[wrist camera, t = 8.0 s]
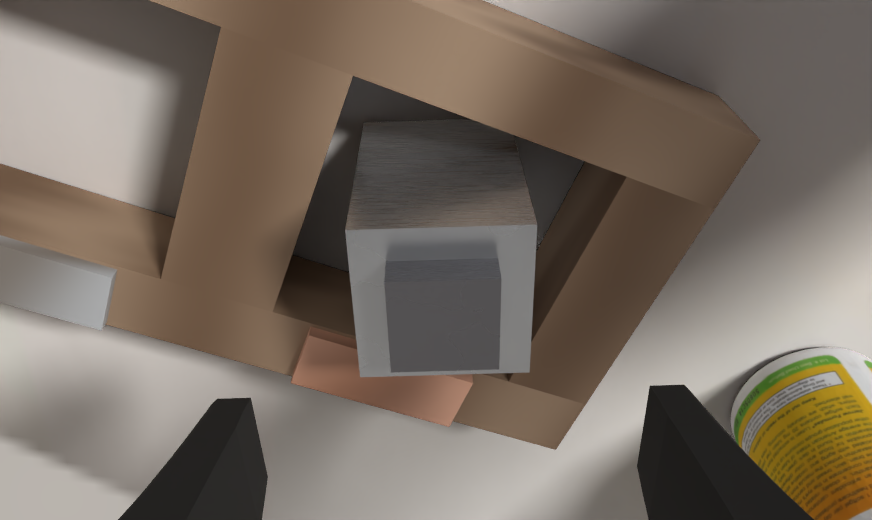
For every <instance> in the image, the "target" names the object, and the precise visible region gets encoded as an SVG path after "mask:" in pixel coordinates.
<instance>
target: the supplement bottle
mask: <svg viewBox="0 0 872 520" xmlns="http://www.w3.org/2000/svg"><path fill="white" fill-rule="evenodd" d="M731 428H732V432H733V435H734V438H735V440H736V442H737V444H738V445H739V446H740V447H741V448H742V449H743V450H744V451H745V453H746V454H747V455H748V456H749V457H750V458H751V459H752V460H753V461H754V462H755V463H756V464H757V465H758V466H759V467H760V468H761V469H762V470H763V471H764V472H765V473H766V474H767V475H768V476H769V477H770V478H771V479H772V480H773V481H774V482H775V483H776V484H777V485H778V486H779V487H780V488H781V489H782V490H783V491H784V492H785V493H786V494H787V495H788V496H789V497H790V498H791V499H793V500H794V501H795V502H796V503H797V504H798V505H799V506H800V507H801V508H802V509H803V510H804V511H805V512H806V513H808V514H809V515H810V516H811V517H812V518H813V519H814V520H872V359H870V358H868V357H867V356H865V355H863V354H861V353H859V352H856V351H853V350H850V349H845V348H838V347H820V348H812V349H806V350H802V351H798V352H795V353H791V354H788V355H786V356H783V357H781V358H779V359H777V360H775V361H773V362H771V363H769V364H768V365H766V366H764V367H763V368H761V369H760V370H759V371H757V372H756V373H755V374H754V375H753V376H752V377H751V378H750V379H749V380H748V381H747V382H746V383H745V384H744V386H743V387H742V389H741V390H740V392H739V393H738V395H737V397H736V399H735V401H734V404H733V407H732V411H731Z"/></svg>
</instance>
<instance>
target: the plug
mask: <svg viewBox="0 0 872 520" xmlns="http://www.w3.org/2000/svg"><path fill="white" fill-rule="evenodd" d="M345 234H346V244H347V254H348V264H349V274H350V283H351V293H352V303H353V313H354V322H355V332H356V342H357V352H358V361H359V371H360V377H389V376H423V375H458V374H492V373H527V372H530V354H531V336H532V317H533V298H534V279H535V260H536V241H537V221H536V217H535V214H534V210H533V206H532V202H531V198H530V195H529V191H528V187H527V183H526V179H525V176H524V172H523V168H522V164H521V160H520V157H519V153H518V149H517V145H516V141H515V138H514V135H512V134H510V133H507V132H504V131H502V130H499V129H496V128H493V127H491V126H488V125H485V124H483V123H480V122H477V121H474V120H472V119H458V120H423V121H389V122H364V126H363V131H362V137H361V143H360V148H359V154H358V160H357V165H356V171H355V177H354V182H353V188H352V194H351V199H350V205H349V211H348V216H347V222H346V228H345Z"/></svg>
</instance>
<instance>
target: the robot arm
mask: <svg viewBox="0 0 872 520" xmlns="http://www.w3.org/2000/svg"><path fill="white" fill-rule="evenodd" d="M637 468H638V472H639V477H640V482H641V487H642V492H643V496H644V501H645V505H646V509H647V514H648V518H649V520H814V519H813V518H812V517H811V516H810V515H809V514H808V513H806V512H805V511H804V510H803V509H802V508H801V507H800V506H799V505H798V504H797V503H796V502H795V501H794V500H793V499H791V498H790V497H789V496H788V495H787V494H786V493H785V492H784V491H783V490H782V489H781V488H780V487H779V486H778V485H777V484H776V483H775V482H774V481H773V480H772V479H771V478H770V477H769V476H768V475H767V474H766V473H765V472H764V471H763V470H762V469H761V468H760V467H759V466H758V465H757V464H756V463H755V462H754V461H753V460H752V459H751V458H750V457H749V456H748V455H747V454H746V453H745V451H744V450H743V449H742V448H741V447H740V446H739V445H738V444H737V443H736V442H735V441H734V440H733V439H732V437H731V436H730V435H729V434H728V433H727V432H726V431H725V430H724V429H723V428H722V426H721V425H720V424H719V423H718V422H717V421H716V420H715V419H714V417H713V416H712V415H711V414H710V413H709V412H708V411H707V410H706V408H705V407H704V406H703V405H702V404H701V403H700V402H699V400H698V399H697V398H696V397H695V396H694V395H693V394H692V393H691V391H690V390H689V389H688V388H687V387H686V386H685V385H662V386H650V389H649V395H648V401H647V408H646V414H645V420H644V426H643V433H642V439H641V445H640V451H639V458H638V464H637ZM267 478H268V476H267V472H266V467H265V462H264V458H263V453H262V448H261V444H260V439H259V434H258V430H257V425H256V420H255V416H254V411H253V407H252V402H251V398H232V399H217V400H216V401H215V402H214V403H213V404H212V405H211V406H210V407H209V409H208V410H207V411H206V413H205V414H204V415H203V417H202V418H201V419H200V421H199V422H198V423H197V425H196V426H195V427H194V429H193V430H192V431H191V433H190V434H189V435H188V437H187V438H186V439H185V441H184V442H183V443H182V444H181V446H180V447H179V448H178V450H177V451H176V452H175V453H174V455H173V456H172V457H171V458H170V460H169V461H168V462H167V463H166V465H165V466H164V467H163V468H162V469H161V471H160V472H159V473H158V474H157V476H156V477H155V478H154V479H153V480H152V482H151V483H150V484H149V485H148V487H147V488H146V489H145V490H144V491H143V492H142V494H141V495H140V496H139V497H138V498H137V499H136V500H135V502H134V503H133V504H132V505H131V506H130V507H129V508H128V509H127V510H126V512H125V513H124V514H123V515H122V516H121V517H120V518H119V519H118V520H262V514H263V508H264V500H265V493H266V485H267Z"/></svg>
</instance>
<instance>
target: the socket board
mask: <svg viewBox="0 0 872 520" xmlns="http://www.w3.org/2000/svg"><path fill="white" fill-rule="evenodd" d="M150 1H152V2H155V3H158V4H160V5H163V6H166V7H168V8H171V9H174V10H177V11H179V12H182V13H185V14H187V15H190V16H193V17H196V18H198V19H201V20H204V21H206V22H209V23H212V24H215V25H217V26H220V27H221V29H220V33H219V37H218V41H217V46H216V50H215V54H214V58H213V62H212V66H211V71H210V75H209V79H208V83H207V87H206V92H205V96H204V100H203V104H202V108H201V113H200V117H199V121H198V125H197V129H196V134H195V138H194V142H193V146H192V150H191V155H190V159H189V163H188V167H187V171H186V175H185V180H184V184H183V188H182V192H181V196H180V201H179V205H178V209H177V213H176V217H175V218H172V217H169V216H166V215H163V214H160V213H156V212H153V211H150V210H147V209H144V208H140V207H137V206H134V205H131V204H128V203H124V202H121V201H118V200H115V199H112V198H108V197H105V196H102V195H99V194H96V193H92V192H89V191H86V190H83V189H80V188H76V187H73V186H70V185H67V184H64V183H60V182H57V181H54V180H51V179H48V178H44V177H41V176H38V175H35V174H32V173H28V172H25V171H22V170H19V169H16V168H12V167H9V166H6V165H3V164H0V303H3V304H7V305H10V306H14V307H17V308H21V309H25V310H28V311H32V312H36V313H39V314H43V315H46V316H50V317H54V318H57V319H61V320H65V321H68V322H72V323H75V324H79V325H83V326H86V327H90V328H93V329H97V330H101V331H102V329H103V328H104V326H105V324H106V325H110V326H113V327H117V328H121V329H124V330H128V331H131V332H135V333H139V334H142V335H146V336H149V337H153V338H156V339H160V340H164V341H167V342H171V343H174V344H178V345H182V346H185V347H189V348H192V349H196V350H200V351H203V352H207V353H210V354H214V355H218V356H221V357H225V358H228V359H232V360H235V361H239V362H243V363H246V364H250V365H253V366H257V367H261V368H264V369H268V370H271V371H275V372H279V373H282V374H286V375H289V376H292V380H291V383H292V384H296V385H300V386H303V387H307V388H310V389H314V390H318V391H321V392H325V393H328V394H332V395H336V396H339V397H343V398H347V399H350V400H354V401H357V402H361V403H365V404H368V405H372V406H375V407H379V408H383V409H386V410H390V411H394V412H397V413H401V414H404V415H408V416H412V417H415V418H419V419H422V420H426V421H430V422H433V423H437V424H441V425H444V426H448V427H449V426H450V425H451V423H452V421H454V422H458V423H462V424H465V425H469V426H472V427H476V428H480V429H483V430H487V431H490V432H494V433H498V434H501V435H505V436H508V437H512V438H515V439H519V440H523V441H526V442H530V443H533V444H537V445H541V446H544V447H548V448H551V449H555V450H556V449H557V447H558V445H559V444H560V442H561V441H562V439H563V438H564V436H565V435H566V433H567V432H568V430H569V429H570V427H571V426H572V424H573V423H574V421H575V420H576V418H577V417H578V415H579V414H580V412H581V411H582V409H583V408H584V406H585V405H586V403H587V402H588V400H589V399H590V397H591V396H592V394H593V393H594V391H595V389H596V388H597V386H598V385H599V383H600V382H601V380H602V379H603V377H604V376H605V374H606V373H607V371H608V370H609V368H610V367H611V365H612V364H613V362H614V361H615V359H616V358H617V356H618V355H619V353H620V352H621V350H622V349H623V347H624V346H625V344H626V343H627V341H628V340H629V338H630V336H631V335H632V333H633V332H634V330H635V329H636V327H637V326H638V324H639V323H640V321H641V320H642V318H643V317H644V315H645V314H646V312H647V311H648V309H649V308H650V306H651V305H652V303H653V302H654V300H655V299H656V297H657V296H658V294H659V293H660V291H661V290H662V288H663V287H664V285H665V284H666V282H667V280H668V279H669V277H670V276H671V274H672V273H673V271H674V270H675V268H676V267H677V265H678V264H679V262H680V261H681V259H682V258H683V256H684V255H685V253H686V252H687V250H688V249H689V247H690V246H691V244H692V243H693V241H694V240H695V238H696V237H697V235H698V234H699V232H700V231H701V229H702V227H703V226H704V224H705V223H706V221H707V220H708V218H709V217H710V215H711V214H712V212H713V211H714V209H715V208H716V206H717V205H718V203H719V202H720V200H721V199H722V197H723V196H724V194H725V193H726V191H727V190H728V188H729V187H730V185H731V184H732V182H733V181H734V179H735V178H736V176H737V175H738V173H739V171H740V170H741V168H742V167H743V165H744V164H745V162H746V161H747V159H748V158H749V156H750V155H751V153H752V152H753V150H754V149H755V147H756V146H757V144H758V143H759V141H760V139H759V138H758V137H757V136H756V134H755V133H754V132H753V131H752V130H751V129H750V128H749V127H748V126H747V125H746V124H745V123H744V122H743V121H742V120H741V119H740V118H739V117H738V116H737V115H736V114H735V113H734V112H733V111H732V110H731V109H730V108H729V107H728V106H727V104H726V103H725V102H724V101H723V100H722V99H721V98H720V97H719V96H717V95H714V94H712V93H709V92H707V91H705V90H702V89H700V88H697V87H695V86H692V85H690V84H687V83H685V82H682V81H680V80H677V79H675V78H673V77H670V76H668V75H665V74H663V73H660V72H658V71H655V70H653V69H650V68H648V67H645V66H643V65H640V64H638V63H636V62H633V61H631V60H628V59H626V58H623V57H621V56H618V55H616V54H613V53H611V52H608V51H606V50H604V49H601V48H599V47H596V46H594V45H591V44H589V43H586V42H584V41H581V40H579V39H576V38H574V37H571V36H569V35H567V34H564V33H562V32H559V31H557V30H554V29H552V28H549V27H547V26H544V25H542V24H539V23H537V22H535V21H532V20H530V19H527V18H525V17H522V16H520V15H517V14H515V13H512V12H510V11H507V10H505V9H502V8H500V7H498V6H495V5H493V4H490V3H488V2H485V1H483V0H150ZM353 76H355V77H358V78H361V79H363V80H366V81H369V82H372V83H374V84H377V85H380V86H382V87H385V88H388V89H391V90H393V91H396V92H399V93H401V94H404V95H407V96H409V97H412V98H415V99H418V100H420V101H423V102H426V103H428V104H431V105H434V106H437V107H439V108H442V109H445V110H447V111H450V112H453V113H456V114H458V115H461V116H464V117H466V118H469V119H472V120H474V121H477V122H480V123H483V124H485V125H488V126H491V127H493V128H496V129H499V130H502V131H504V132H507V133H510V134H512V135H515V136H518V137H521V138H523V139H526V140H529V141H531V142H534V143H537V144H539V145H542V146H545V147H548V148H550V149H553V150H556V151H558V152H561V153H564V154H567V155H569V156H572V157H575V158H577V159H580V160H583V161H585V162H584V164H583V166H582V168H581V170H580V172H579V173H578V175H577V177H576V179H575V181H574V183H573V185H572V186H571V188H570V190H569V192H568V194H567V196H566V198H565V199H564V201H563V203H562V205H561V207H560V209H559V211H558V212H557V214H556V216H555V218H554V220H553V222H552V224H551V225H550V227H549V229H548V231H547V233H546V235H545V237H544V238H543V240H542V242H541V244H540V246H539V248H538V250H537V251H536V260H535V279H534V298H533V317H532V336H531V354H530V372H527V373H492V374H458V375H423V376H389V377H360V371H359V361H358V352H357V342H356V332H355V322H354V313H353V303H352V293H351V283H350V274H349V273H348V272H345V271H342V270H339V269H335V268H332V267H329V266H326V265H323V264H319V263H316V262H313V261H310V260H307V259H303V258H300V257H297V256H294V255H292V253H293V250H294V248H295V245H296V242H297V239H298V236H299V233H300V230H301V227H302V224H303V221H304V218H305V215H306V212H307V209H308V206H309V204H310V201H311V198H312V195H313V192H314V189H315V186H316V183H317V180H318V177H319V174H320V171H321V168H322V165H323V162H324V160H325V157H326V154H327V151H328V148H329V145H330V142H331V139H332V136H333V133H334V130H335V127H336V124H337V121H338V118H339V116H340V113H341V110H342V107H343V104H344V101H345V98H346V95H347V92H348V89H349V86H350V83H351V80H352V77H353Z"/></svg>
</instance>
